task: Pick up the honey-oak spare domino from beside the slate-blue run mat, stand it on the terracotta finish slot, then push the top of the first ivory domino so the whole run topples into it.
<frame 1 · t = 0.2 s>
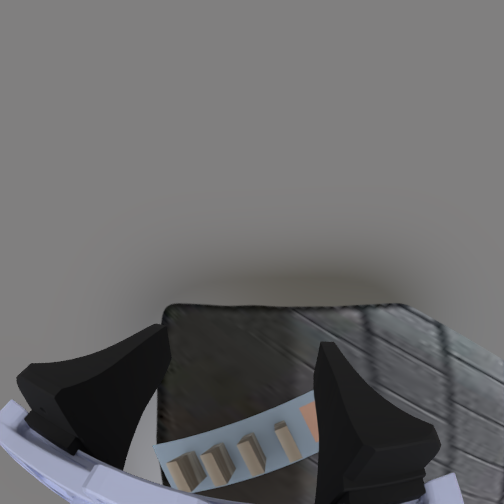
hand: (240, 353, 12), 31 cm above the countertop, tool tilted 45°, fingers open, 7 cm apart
domino 3: (255, 447, 33), resting on run mat
domino 1: (195, 464, 31), resting on run mat
domino 2: (224, 457, 32), resting on run mat
domino 4: (285, 435, 34), resting on run mat
run mat: (255, 446, 33), on the countertop
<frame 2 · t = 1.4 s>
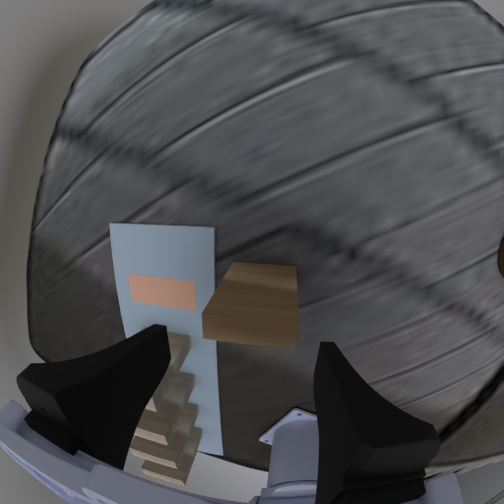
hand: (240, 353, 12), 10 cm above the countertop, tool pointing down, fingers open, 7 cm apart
domino 3: (172, 374, 26), resting on run mat
domino 1: (183, 427, 29), resting on run mat
spare domino: (264, 273, 22), on the countertop
domino 2: (178, 404, 27), resting on run mat
domino 4: (166, 337, 25), resting on run mat
run mat: (173, 372, 26), on the countertop
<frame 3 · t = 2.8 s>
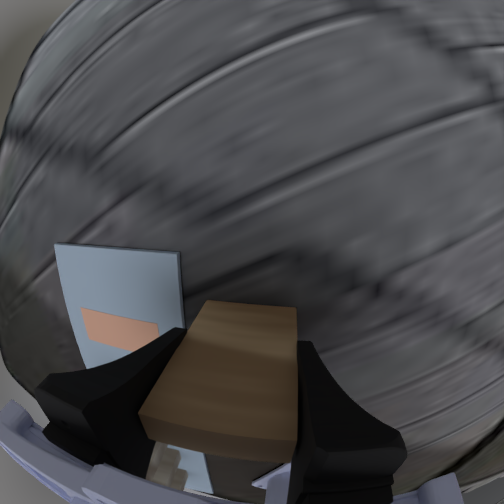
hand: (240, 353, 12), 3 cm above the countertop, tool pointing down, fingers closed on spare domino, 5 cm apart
domino 3: (146, 421, 19), resting on run mat
domino 1: (166, 467, 22), resting on run mat
spare domino: (250, 316, 15), on the countertop, touching gripper
domino 2: (157, 447, 21), resting on run mat
run mat: (148, 418, 20), on the countertop
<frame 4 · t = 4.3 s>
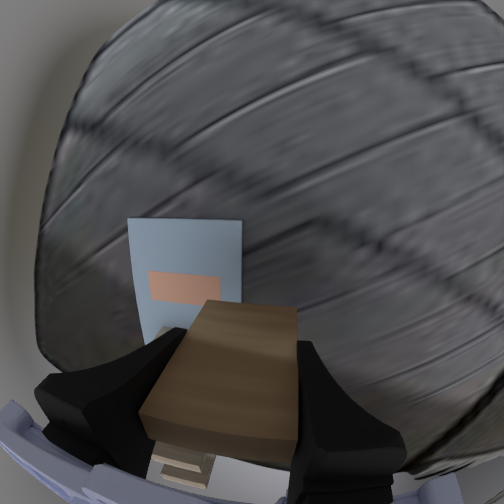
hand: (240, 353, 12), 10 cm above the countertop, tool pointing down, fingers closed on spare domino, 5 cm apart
domino 1: (202, 428, 28), resting on run mat
spare domino: (250, 316, 15), point 7 cm above the countertop, touching gripper
domino 2: (197, 405, 27), resting on run mat
run mat: (194, 373, 26), on the countertop
when the fingers open (5 cm above the countertop, at t = 6.3 s): spare domino drops 1 cm, resting on run mat.
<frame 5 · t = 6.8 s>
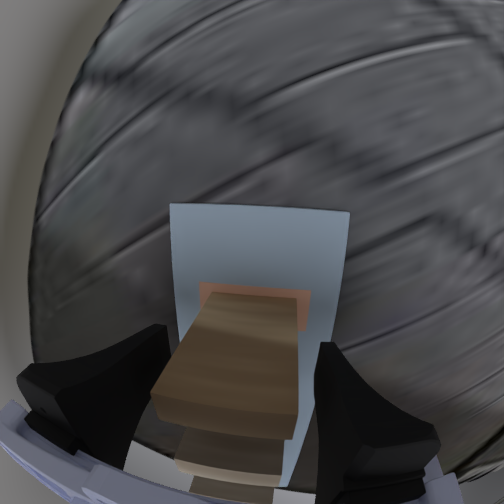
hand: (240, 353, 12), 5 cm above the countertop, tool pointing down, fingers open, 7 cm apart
domino 3: (249, 412, 19), resting on run mat
spare domino: (253, 307, 16), resting on run mat
domino 4: (250, 369, 18), resting on run mat
run mat: (249, 409, 19), on the countertop
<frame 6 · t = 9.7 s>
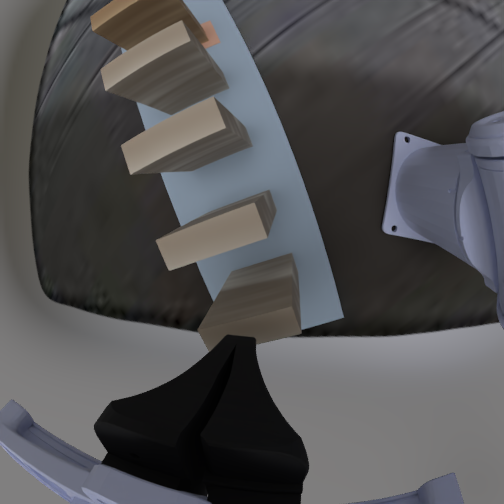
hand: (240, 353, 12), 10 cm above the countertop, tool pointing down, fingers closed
domino 3: (217, 148, 19), resting on run mat
domino 1: (264, 271, 21), resting on run mat
spare domino: (178, 47, 17), resting on run mat
domino 2: (241, 211, 20), resting on run mat
domino 4: (196, 93, 18), resting on run mat
run mat: (219, 149, 19), on the countertop
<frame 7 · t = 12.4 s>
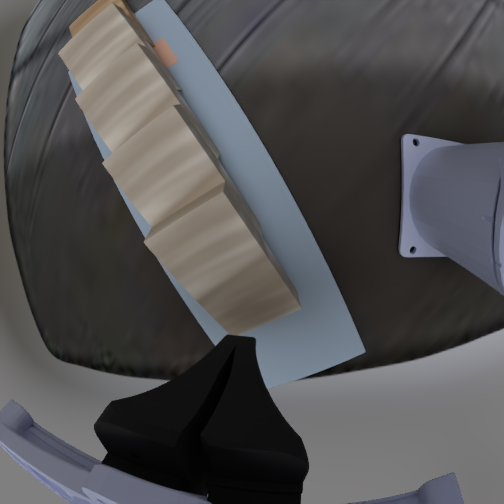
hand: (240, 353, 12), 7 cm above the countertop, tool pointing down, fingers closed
domino 3: (184, 177, 16), point 1 cm above the countertop, tilted 71°, touching domino 2, domino 4, run mat
domino 1: (264, 315, 17), point 1 cm above the countertop, tilted 71°, touching domino 2, run mat
spare domino: (122, 63, 14), point 1 cm above the countertop, tilted 90°, touching domino 4, run mat
domino 2: (225, 249, 17), point 1 cm above the countertop, tilted 72°, touching domino 1, domino 3, run mat
domino 4: (148, 112, 15), point 1 cm above the countertop, tilted 71°, touching domino 3, run mat, spare domino
run mat: (198, 189, 17), on the countertop
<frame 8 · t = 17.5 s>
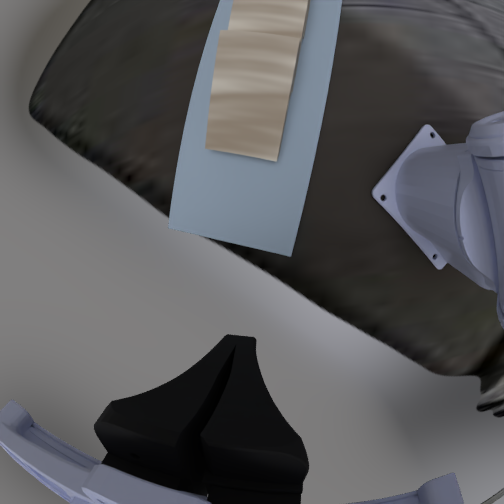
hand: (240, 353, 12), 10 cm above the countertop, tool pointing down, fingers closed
domino 1: (242, 151, 18), point 1 cm above the countertop, tilted 71°, touching domino 2, run mat
domino 2: (256, 86, 17), point 1 cm above the countertop, tilted 72°, touching domino 1, domino 3, run mat
run mat: (268, 47, 16), on the countertop
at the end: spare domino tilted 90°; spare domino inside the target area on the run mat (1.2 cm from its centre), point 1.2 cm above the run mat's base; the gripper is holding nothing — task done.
